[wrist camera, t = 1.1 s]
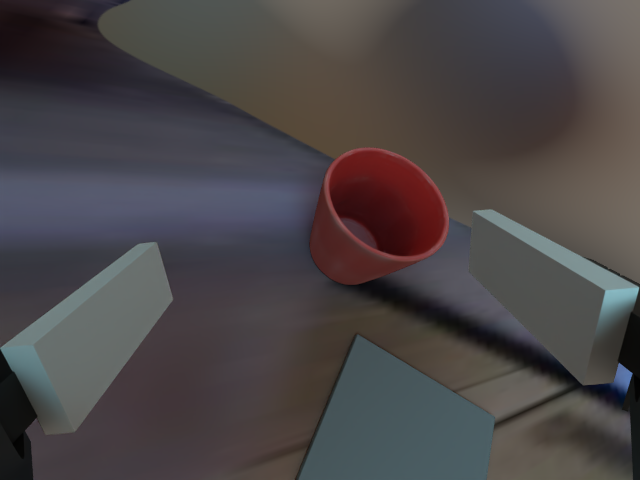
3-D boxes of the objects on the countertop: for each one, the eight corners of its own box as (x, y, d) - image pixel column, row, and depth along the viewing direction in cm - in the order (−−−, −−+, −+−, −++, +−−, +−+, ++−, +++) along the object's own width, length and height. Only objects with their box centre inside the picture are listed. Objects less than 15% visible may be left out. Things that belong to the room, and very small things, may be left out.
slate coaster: (274, 531, 23) (276, 533, 22) (355, 335, 31) (357, 334, 30) (458, 634, 23) (464, 639, 23) (490, 417, 32) (495, 417, 31)
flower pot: (314, 188, 37) (348, 124, 29) (400, 232, 38) (457, 183, 30) (276, 269, 31) (305, 218, 23) (379, 317, 32) (441, 285, 24)
